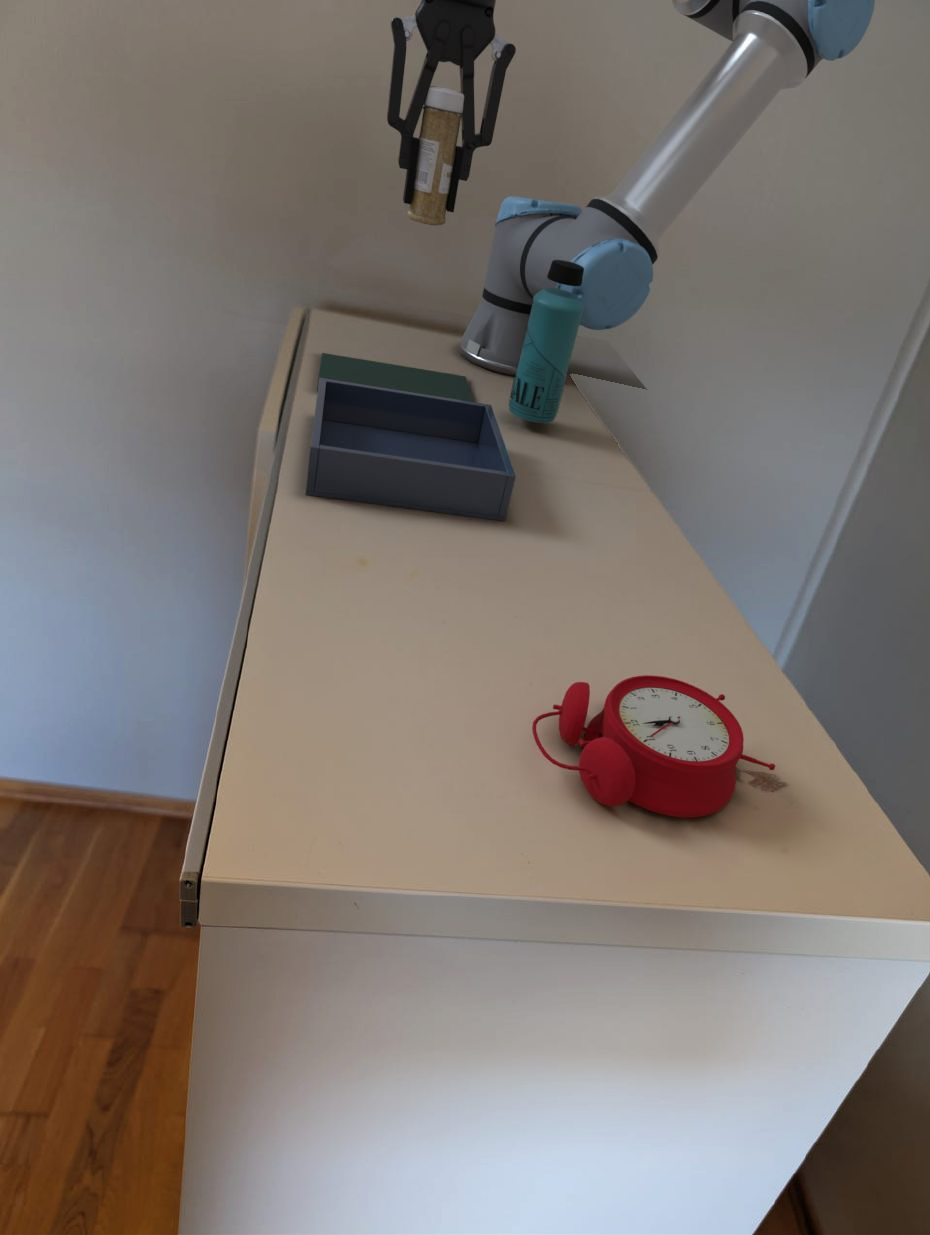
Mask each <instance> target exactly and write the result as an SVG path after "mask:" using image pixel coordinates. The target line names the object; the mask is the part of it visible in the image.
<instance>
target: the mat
mask: <svg viewBox="0 0 930 1235" xmlns="http://www.w3.org/2000/svg"><path fill="white" fill-rule="evenodd" d="M319 365H320V366H319V372H318V380H317V388H316V393H318V385H319V378H324V379H331V380H337V381H343V382H350V383H356V384H362V385H369V386H375V387H381V388H387V389H394V390H400V391H406V392H412V393H419V394H425V395H431V396H438V397H444V398H450V399H456V400H463V401H469V402H474V399H473V396H472V393H471V389H470V386H469V383H468V379H467V376H466V375H461V374H460V375H459V374H453V373H447V372H443V371H442V372H441V371H435V370H430V369H425V368H418V367H417V368H416V367H411V366H406V365H405V366H404V365H399V364H393V363H387V362H380V361H374V360H369V359H364V358H363V359H362V358H357V357H350V356H344V355H340V354H339V355H338V354H334V353H333V354H332V353H326V352H321V358H320V364H319Z"/></svg>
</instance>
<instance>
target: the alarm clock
mask: <svg viewBox="0 0 930 1235" xmlns="http://www.w3.org/2000/svg"><path fill="white" fill-rule="evenodd" d="M590 695H591V690H590V684H589V682H585V681H577V682H574V683H572V684H571V685H570V686H569V687H568V688H567V690H566V692H565V693H564V696H563V699H562V702H561V705H559V704H553V705H552V708H553V710H557V711H550V712H546V713H542V714H540V715H539V716H537V717H536V718H535V719H534V720H533V722H532V726H531V730H532V736H533V738H534V741H535V744H536V746H537V747H538V749H539V751H540V752H541V754H542V755H543V757H545V759H546V760H548V761H549V762H550V763H551V764H553V765H554V766H557V767H558V768H562V769H564V770H569V771H578V772H579V776H580V780H581V782H582V785H583V787H584V789H585V790H586V791H587V793H588V794H589V795H590V796H591V797H592V798H593V799H594V800H595V801H596V802H597V803H600V804H602V805H605V806H607V807H617V806H620V805H624V804H626V803H627V802H628V801H629V802H630V803H633V804H635V805H636V806H638V807H641V808H642V809H644V810H645V809H646V810H647V811H650V812H654V813H658V814H660V815H664V816H670V817H675V818H676V817H677V818H698V817H705V816H709V815H711V814H715V813H716V812H719V811H721V809H723V808H724V807H725V806H726V805H728V803H729V802H730V800H731V799H732V797H733V795H734V793H735V791H736V787H737V773H736V766H737V764H738V762H739V760H742V761H743V760H744V761H746V762H750V763H752V764H756V765H759V766H762V767H766V768H768V769H769V771H775V769H776V765H775V763H772V762H771V763H767V762H764V761H761V760H758V759H757V758H755V757H752V756H749V755H746V754H743V752H744V740H745V737H744V733H743V729H742V726H741V725H740V723H739V721H738V719H737V717H736V716H735V715H734V714H733V713H732V711H731V710H730V709H729V708H728V707H727V706H726V705H724V704H723V702H721V701H725V700H726V695H725V694H723V693H721V694H719V695H718V696H717V697H716V698H715V697H714V696H713V695H712V694H710V693H708V692H707V691H704V690H703V689H701V688H699V687H697V686H695V685H692V684H691V683H689V682H685V681H683V680H679V679H676V678H673V677H672V678H671V677H667V676H661V675H647V674H644V675H636V676H635V675H634V676H631V677H627V678H626V679H622V680H621V681H620V682H618V683H616V685H615V686H614V687H613V688H612V689H611V690H610V691H609V692H608V694H607V696H606V699H605V701H604V705H603V709H602V710H601V711H600V712H599V713H598V714H596V715H594V717H592V719H591V720H590V721H589V722H588V724H587V726H586V727H585V725H586V720H587V716H588V711H589V704H590V697H591V696H590ZM555 716H558V731H559V736H560V738H561V740H563V742H564V743H567V744H569V745H571V746H574V747H576V746H577V745H578V744H579V745H580V747H581V748H583V749H582V751H581V753H580V756H579V758H578V759H579V760H578V765H570V764H565V763H562V762H559V761H557V760H556V759H554V758H552V756H551V755H550V754H549V753H548V752H547V751H546V749H545V747H544V746H543V745H542V742H541V740H540V738H539V736H538V732H537V725H538V723H539V721H541V720H543V719H545V718H548V717H549V718H550V717H555ZM583 732H584V734H583ZM582 735H583V738H581V737H582Z"/></svg>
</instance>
